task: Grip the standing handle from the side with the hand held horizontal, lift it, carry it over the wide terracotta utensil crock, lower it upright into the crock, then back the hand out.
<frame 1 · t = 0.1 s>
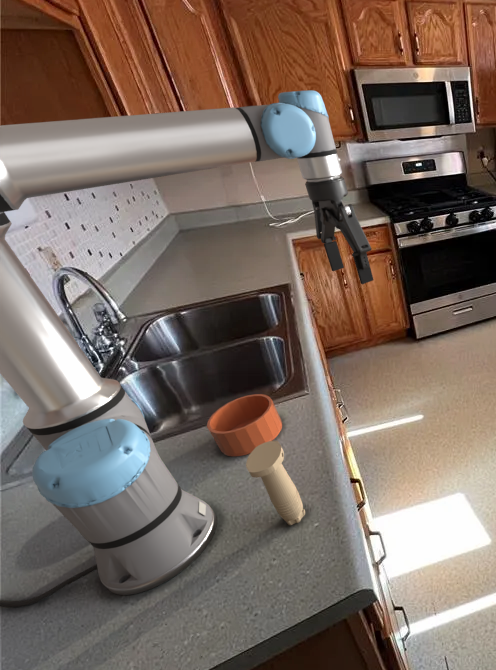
hand: (352, 275, 94), 28 cm above the worktop, tool pointing down, fingers open, 13 cm apart
handle: (296, 518, 72), on the worktop
crock: (252, 435, 91), on the worktop
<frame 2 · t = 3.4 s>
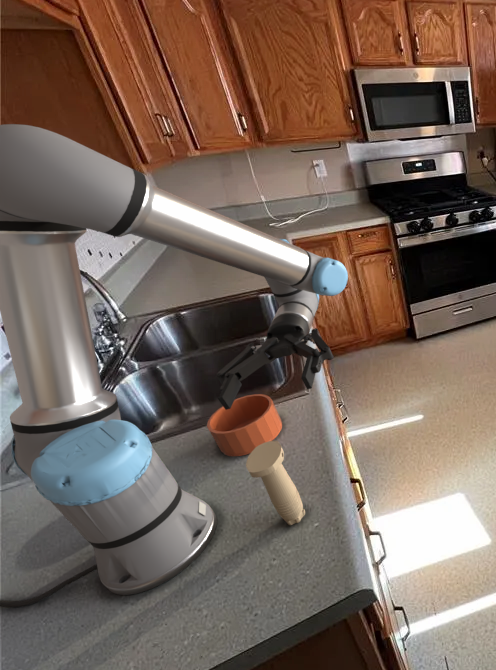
hand: (265, 393, 71), 20 cm above the worktop, tool horizontal, fingers open, 13 cm apart
nothing on the worktop moved.
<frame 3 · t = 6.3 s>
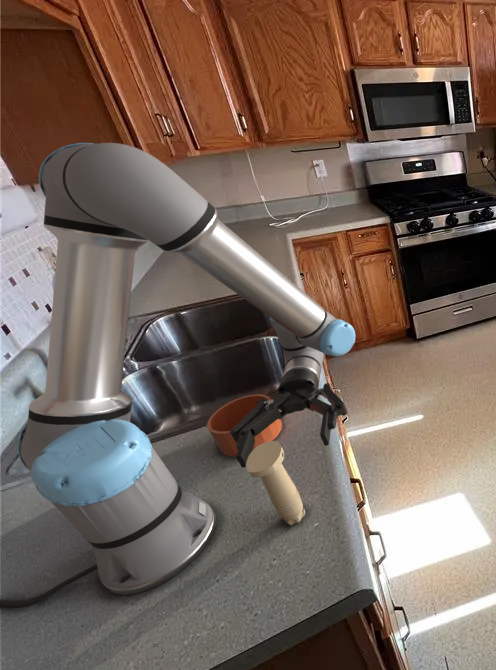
hand: (283, 450, 73), 10 cm above the worktop, tool horizontal, fingers open, 13 cm apart
nothing on the worktop moved.
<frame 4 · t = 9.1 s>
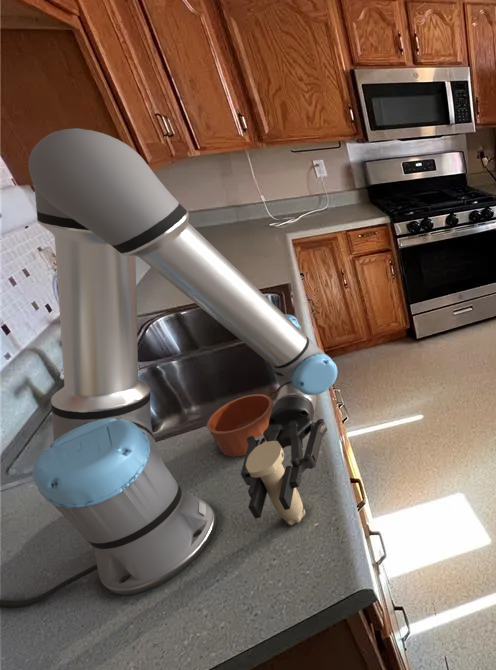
hand: (269, 507, 63), 9 cm above the worktop, tool horizontal, fingers closed on handle, 3 cm apart
handle: (296, 518, 72), on the worktop, touching gripper
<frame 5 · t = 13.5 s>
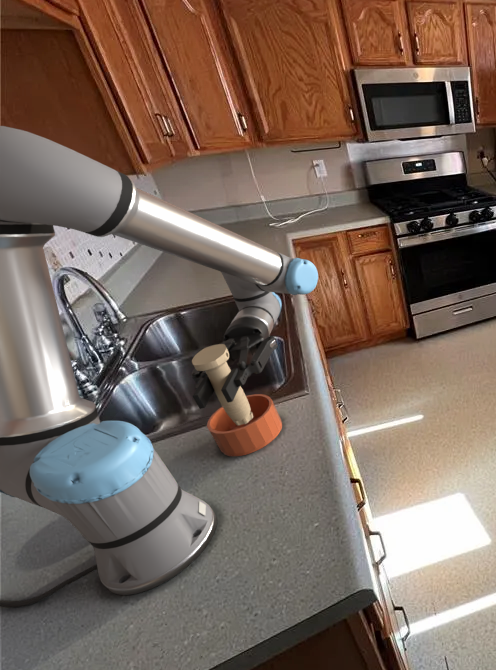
hand: (212, 398, 68), 21 cm above the worktop, tool horizontal, fingers closed on handle, 3 cm apart
handle: (244, 421, 78), point 11 cm above the worktop, touching gripper
when the fingers open (10 cm above the worktop, at t = 18.2 s): handle stays where it is, resting on crock.
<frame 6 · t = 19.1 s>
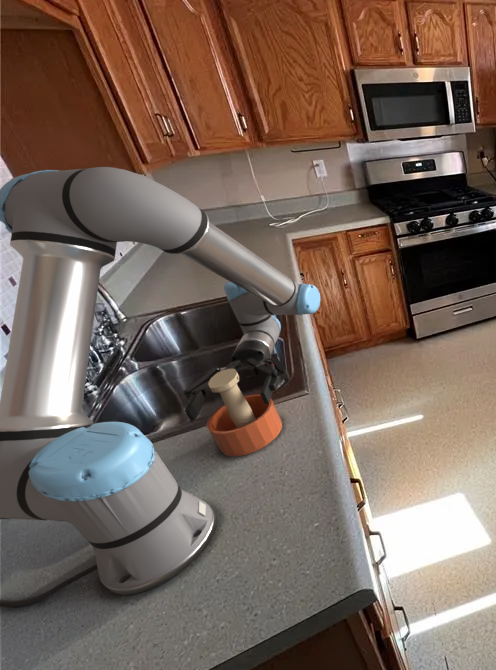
hand: (227, 407, 83), 11 cm above the worktop, tool horizontal, fingers open, 13 cm apart
handle: (251, 433, 91), resting on crock
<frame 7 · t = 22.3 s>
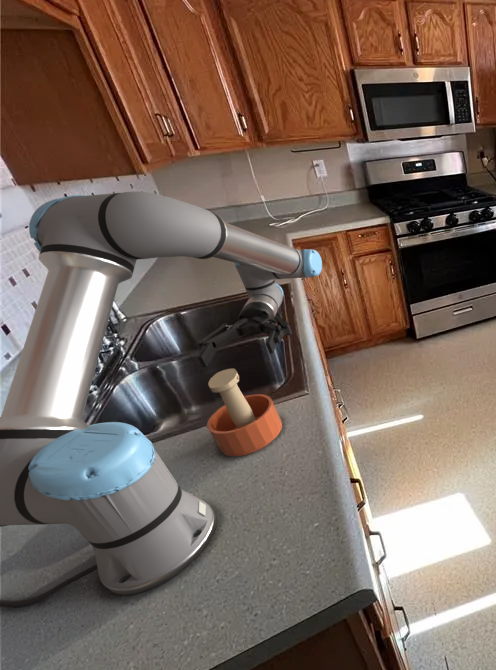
hand: (236, 355, 92), 15 cm above the worktop, tool horizontal, fingers open, 13 cm apart
nothing on the worktop moved.
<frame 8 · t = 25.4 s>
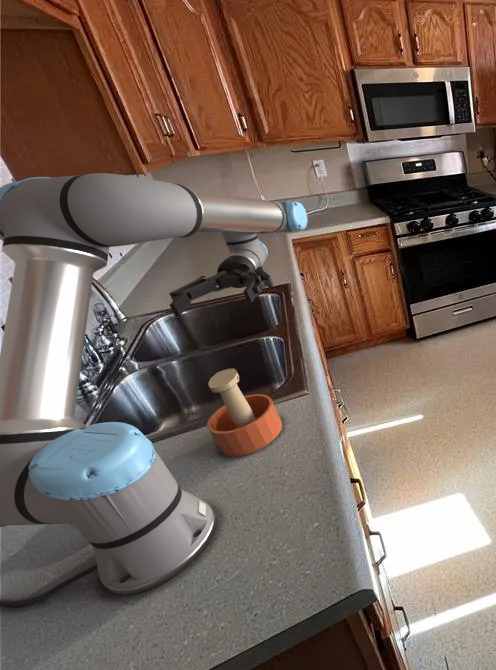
hand: (211, 303, 86), 28 cm above the worktop, tool horizontal, fingers open, 13 cm apart
nothing on the worktop moved.
at the end: handle inside the target area in the crock (0.1 cm from its centre), point 0.4 cm above the crock's base; the gripper is holding nothing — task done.
